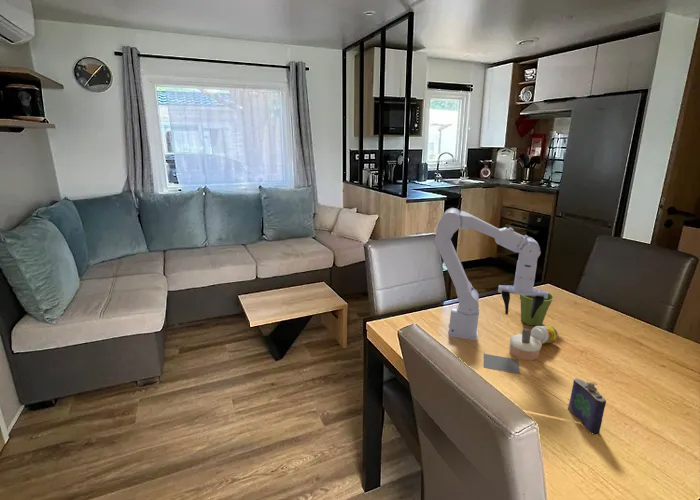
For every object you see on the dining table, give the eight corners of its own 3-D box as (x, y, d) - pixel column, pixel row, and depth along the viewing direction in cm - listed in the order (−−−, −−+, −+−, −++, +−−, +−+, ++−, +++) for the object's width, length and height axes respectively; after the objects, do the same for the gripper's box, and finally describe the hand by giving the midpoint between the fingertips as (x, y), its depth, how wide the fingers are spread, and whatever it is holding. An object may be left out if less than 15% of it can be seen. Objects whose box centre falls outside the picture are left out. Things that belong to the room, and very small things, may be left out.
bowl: (509, 357, 119) (511, 348, 118) (508, 344, 126) (509, 335, 125) (539, 363, 116) (541, 353, 115) (536, 349, 124) (537, 339, 123)
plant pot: (547, 332, 135) (552, 303, 132) (511, 324, 141) (516, 295, 137) (550, 319, 144) (555, 292, 141) (517, 312, 150) (521, 285, 147)
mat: (483, 368, 113) (483, 367, 113) (483, 354, 120) (483, 353, 120) (520, 375, 110) (520, 374, 110) (517, 360, 117) (518, 359, 117)
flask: (565, 408, 97) (572, 371, 94) (575, 407, 97) (583, 371, 94) (592, 435, 88) (601, 396, 85) (603, 434, 88) (613, 395, 85)
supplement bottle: (555, 345, 126) (540, 347, 120) (539, 338, 131) (524, 339, 124) (561, 330, 126) (547, 330, 119) (544, 322, 130) (530, 323, 123)
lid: (510, 349, 117) (511, 335, 116) (509, 334, 125) (510, 321, 124) (542, 353, 114) (544, 339, 113) (540, 338, 122) (541, 325, 121)
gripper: (501, 277, 120) (495, 316, 124) (552, 283, 116) (545, 324, 119) (500, 270, 127) (495, 308, 130) (548, 275, 122) (542, 314, 126)
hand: (519, 315), depth 125 cm, fingers open, 7 cm apart
